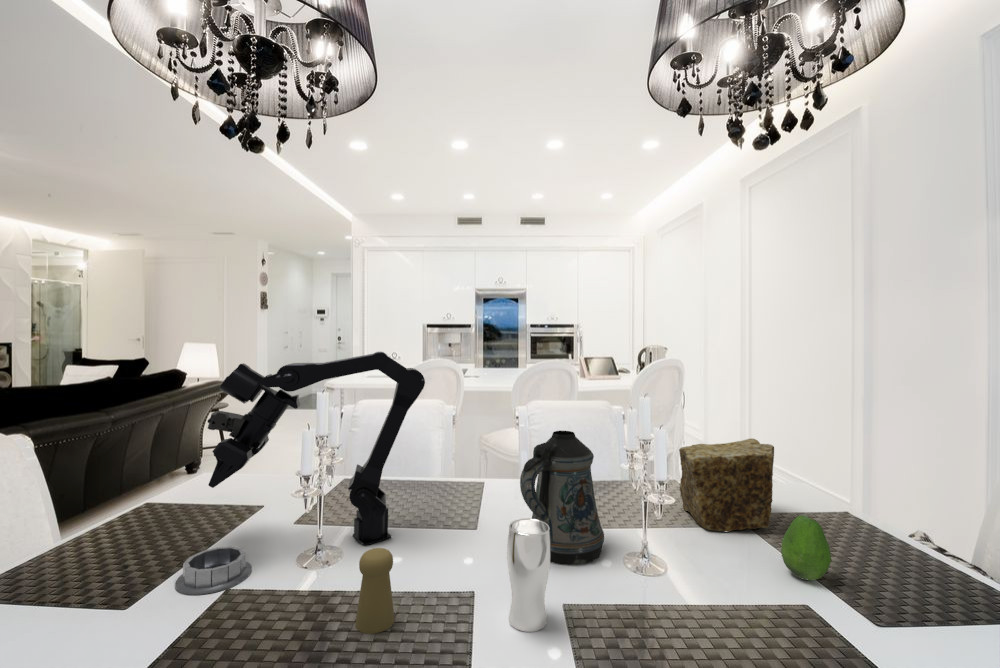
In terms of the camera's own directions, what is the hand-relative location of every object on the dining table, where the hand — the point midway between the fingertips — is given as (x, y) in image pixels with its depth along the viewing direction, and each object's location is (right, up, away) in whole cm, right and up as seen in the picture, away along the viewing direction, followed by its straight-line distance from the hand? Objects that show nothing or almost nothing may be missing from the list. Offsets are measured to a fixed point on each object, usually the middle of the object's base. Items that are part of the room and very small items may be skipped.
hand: (218, 479), depth 95 cm
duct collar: (+6, -15, -10) cm, 19 cm away
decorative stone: (+115, -17, +22) cm, 118 cm away
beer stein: (+72, -16, +3) cm, 74 cm away
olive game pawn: (+39, -15, -23) cm, 47 cm away
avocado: (+117, -17, -7) cm, 119 cm away
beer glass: (+63, -16, -22) cm, 68 cm away
